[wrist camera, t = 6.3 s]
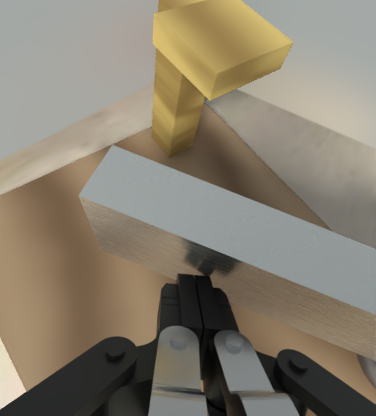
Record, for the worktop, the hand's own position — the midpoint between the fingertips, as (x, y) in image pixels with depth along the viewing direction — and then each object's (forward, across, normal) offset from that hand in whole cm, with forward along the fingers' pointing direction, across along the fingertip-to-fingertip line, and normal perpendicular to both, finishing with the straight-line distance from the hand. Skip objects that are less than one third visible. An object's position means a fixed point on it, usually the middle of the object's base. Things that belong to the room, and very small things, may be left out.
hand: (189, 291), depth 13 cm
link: (+2, -6, +1) cm, 6 cm away
